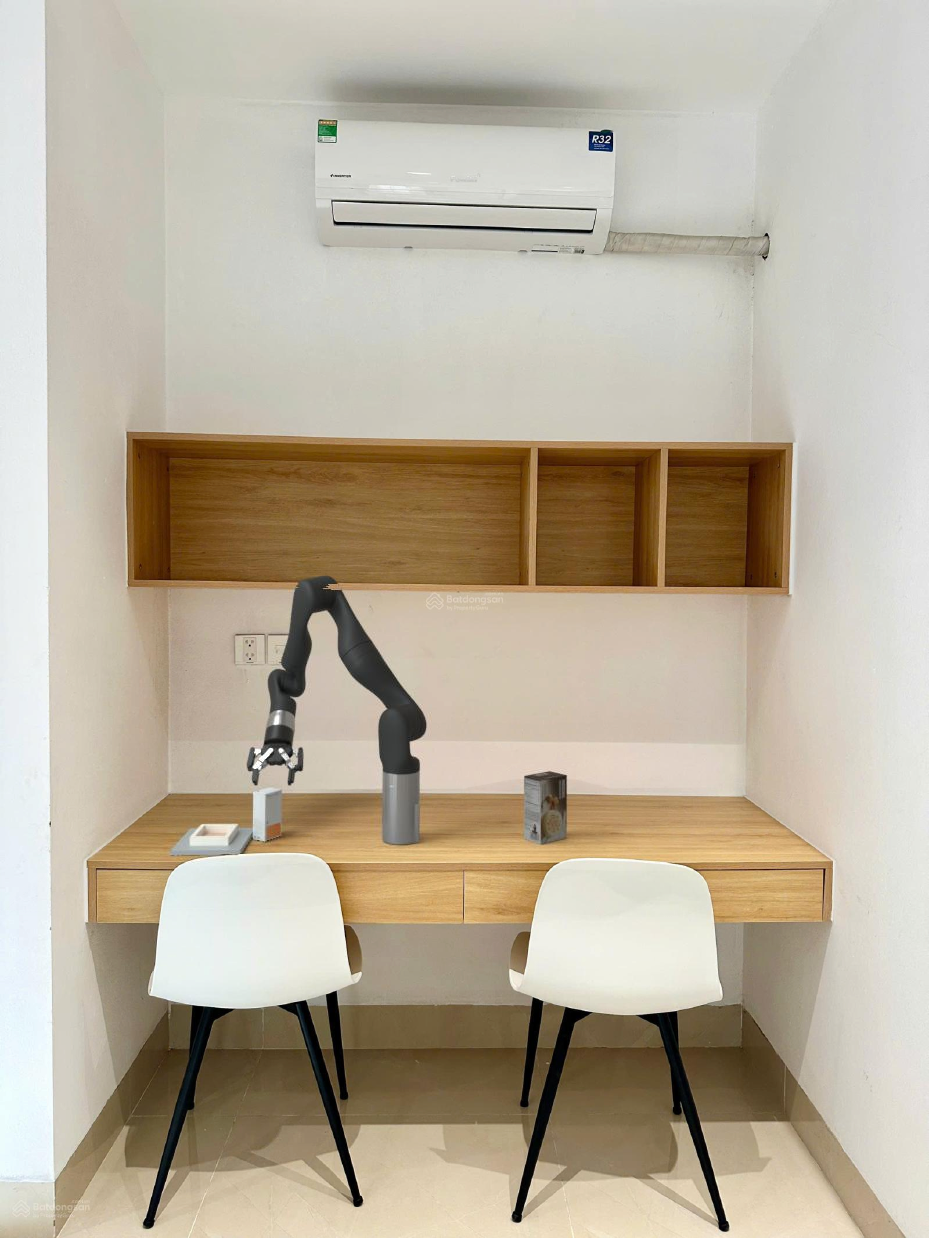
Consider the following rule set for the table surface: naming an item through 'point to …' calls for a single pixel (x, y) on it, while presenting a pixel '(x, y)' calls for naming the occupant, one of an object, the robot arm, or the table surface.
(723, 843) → the table surface
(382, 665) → the robot arm
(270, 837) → the skincare box
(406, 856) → the table surface
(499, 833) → the table surface
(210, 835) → the board
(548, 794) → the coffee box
